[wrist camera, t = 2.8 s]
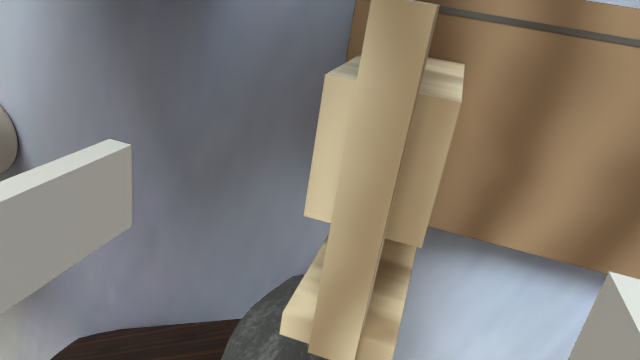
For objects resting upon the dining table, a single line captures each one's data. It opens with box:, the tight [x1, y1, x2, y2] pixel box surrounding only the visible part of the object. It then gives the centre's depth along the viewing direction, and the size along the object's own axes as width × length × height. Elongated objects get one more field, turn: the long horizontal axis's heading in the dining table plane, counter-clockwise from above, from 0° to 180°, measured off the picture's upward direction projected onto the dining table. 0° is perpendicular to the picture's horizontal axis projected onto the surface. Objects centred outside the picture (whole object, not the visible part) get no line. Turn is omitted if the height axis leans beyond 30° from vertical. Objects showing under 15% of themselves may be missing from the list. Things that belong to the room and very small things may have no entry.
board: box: [346, 0, 640, 279], centre depth 27 cm, size 20×14×2 cm
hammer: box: [51, 274, 329, 360], centre depth 38 cm, size 5×11×30 cm
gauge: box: [279, 0, 465, 360], centre depth 23 cm, size 5×14×13 cm, turn 170°
